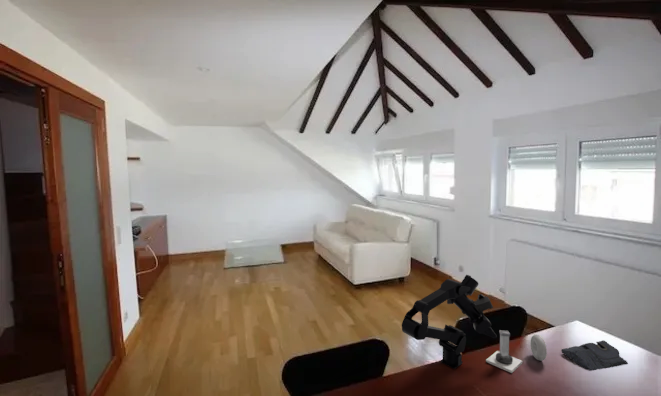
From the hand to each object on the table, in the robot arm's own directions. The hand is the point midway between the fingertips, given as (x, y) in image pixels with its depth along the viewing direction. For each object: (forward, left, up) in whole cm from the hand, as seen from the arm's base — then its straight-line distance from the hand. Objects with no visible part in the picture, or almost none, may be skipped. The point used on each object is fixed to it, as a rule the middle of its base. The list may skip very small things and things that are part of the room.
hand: (493, 331), depth 134 cm
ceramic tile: (+3, +3, -13) cm, 14 cm away
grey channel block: (+3, +3, -12) cm, 13 cm away
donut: (+11, +16, -13) cm, 24 cm away
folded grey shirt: (+25, +34, -14) cm, 45 cm away
